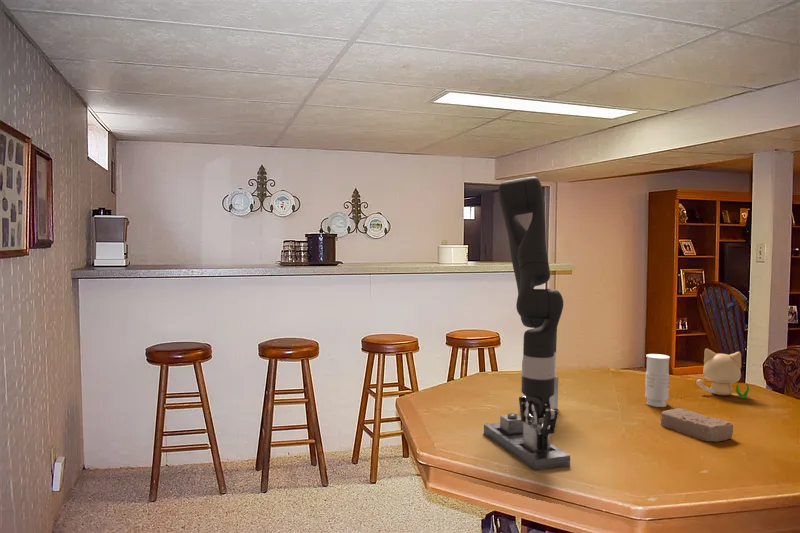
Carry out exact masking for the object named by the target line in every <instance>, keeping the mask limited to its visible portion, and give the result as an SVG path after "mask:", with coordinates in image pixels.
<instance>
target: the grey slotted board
mask: <svg viewBox="0 0 800 533" xmlns="http://www.w3.org/2000/svg"><path fill="white" fill-rule="evenodd" d="M483 434H484V435H485V436H487V437H489V438H490V439H491V440H492V441H494V443H497V444H498V445H500V447H502V448H503V449H504V450H506V451H508V453H510V454H512V455H513V456H514V457H516V458H517V459H518V460H520V461H521V462H523V463H524V464H525V465H526V466H528V467H530V468H531V469H532V470H534V471H540V470H548V469H549V470H550V469H557V468H565V467H571V455H570V454H568V453H566V452H565V451H564V450H562V449H561V448H559V447H557V446H555V445H554V444H552V443H551V442H550V451H548V452H539V453H531V452H530V451H528V450H527V449H525V448H524V447H523V435H516V436H505V435H504V434H502V433H501V432H500V422H495V423H484V424H483Z"/></svg>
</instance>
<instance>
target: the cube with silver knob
mask: <svg viewBox="0 0 800 533" xmlns="http://www.w3.org/2000/svg"><path fill="white" fill-rule="evenodd" d="M541 426H542V428H543V424H541ZM549 428H550V426H549ZM550 443H551V434H548V447H547V450H541V451H540V450H539V449H538V428H537V425H536V424H535V421H534V420H533V419H532V421H531V422H524V429H523V447H524V448H525V449H527V450H528V451H530V453H539V452H548V451H550Z"/></svg>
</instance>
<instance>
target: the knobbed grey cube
mask: <svg viewBox="0 0 800 533" xmlns="http://www.w3.org/2000/svg"><path fill="white" fill-rule="evenodd" d="M499 421H500V422H499V423H500V432H501V433H502V434H504V435H505V436H516V435H523V429H524V422H522V421H521V415H518V414H517V413H509V412H508V413H507V414H504V415H500V417H499Z"/></svg>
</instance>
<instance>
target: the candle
mask: <svg viewBox="0 0 800 533" xmlns="http://www.w3.org/2000/svg"><path fill="white" fill-rule="evenodd" d="M645 355H646V356H645V357H646V371H645V377H644V378H645V381H644V382H645V384H644V386H645V394H644V398H646V399H647V400H646V405H649V406H651V407H656V408H657V407H658V408H659V407H660V408H665V407H667V406H668V405H667V402H666V401H668V400H669V399H670V398H669V389H670V376H671V375H670V374H669V370H670V366H669V364H670V359H671V356H669V355H666V354H659V353H648V354H645Z"/></svg>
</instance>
